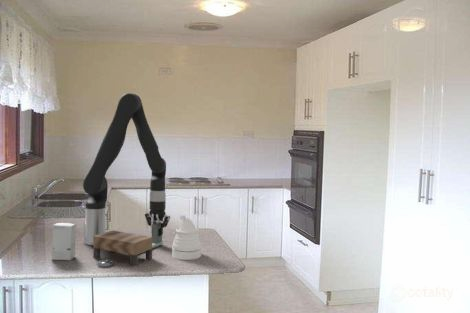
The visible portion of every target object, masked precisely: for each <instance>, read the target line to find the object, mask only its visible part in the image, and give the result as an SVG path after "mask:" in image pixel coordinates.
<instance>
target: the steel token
mask: <svg viewBox="0 0 470 313" xmlns="http://www.w3.org/2000/svg"><path fill="white" fill-rule="evenodd" d="M113 263H114V261H113V260H112V259H101V260H98V261H97V267H99V268H110V267H112V266H113V265H114V264H113Z"/></svg>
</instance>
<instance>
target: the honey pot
mask: <svg viewBox="0 0 470 313" xmlns="http://www.w3.org/2000/svg"><path fill="white" fill-rule="evenodd" d="M180 220H182V222H181V223H180V224H179V227H176V229H175V231H174V232H176V234H175V235H174V239H173V241H172V248H171V249H172V250H171V251H172V252H171V257H172V258H174V259H177V260H180V261H181V260H182V261H184V260H186V261H187V260H188V261H190V260H196V259H200V257H201V256H202V243H201V240H200V236H199V234H198V232H199V229H198V228H197V227H196V226H195V224H194V223H193V221H192V219H190V218H188V217H187V216H186V215H185V214H182V215H180Z"/></svg>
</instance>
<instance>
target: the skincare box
mask: <svg viewBox="0 0 470 313" xmlns="http://www.w3.org/2000/svg"><path fill="white" fill-rule="evenodd" d="M76 234H77V223H69V222H57V223H54V224H53V225H52V238H51V239H52V242H51V243H52V244H51V260H53V261H71V260H73V259H75V257H76V240H77V239H76V237H77V235H76Z"/></svg>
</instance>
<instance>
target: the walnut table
mask: <svg viewBox="0 0 470 313" xmlns="http://www.w3.org/2000/svg"><path fill="white" fill-rule="evenodd" d="M101 250H106V251H109V253H112V254H113V253H114V254H115V253H121V254H126V255H130V261H129V262H130V266H131V267H135V266H137V265H138V255H139V253H140V254H142V253H145V260H148V261H149V260H152V259H153V248H152V236H147V235H142V234H136V233H130V232H124V231H119V230H110V231H107V232H106V233H102V234H99V235H96V236H94V245H93V258H94V259H100V258H101ZM144 251H145V252H144Z"/></svg>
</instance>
